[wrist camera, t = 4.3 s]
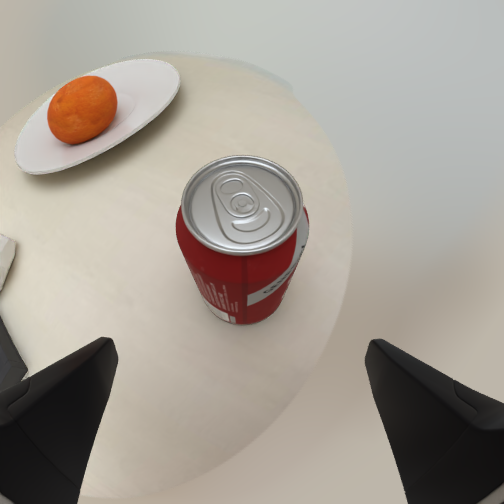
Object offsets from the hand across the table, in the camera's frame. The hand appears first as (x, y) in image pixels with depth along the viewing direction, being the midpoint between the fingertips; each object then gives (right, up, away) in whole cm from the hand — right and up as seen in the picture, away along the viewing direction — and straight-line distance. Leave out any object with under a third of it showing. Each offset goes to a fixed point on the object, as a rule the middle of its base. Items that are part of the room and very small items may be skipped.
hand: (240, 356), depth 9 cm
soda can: (0, 0, +15) cm, 15 cm away
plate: (-23, +24, +25) cm, 42 cm away
